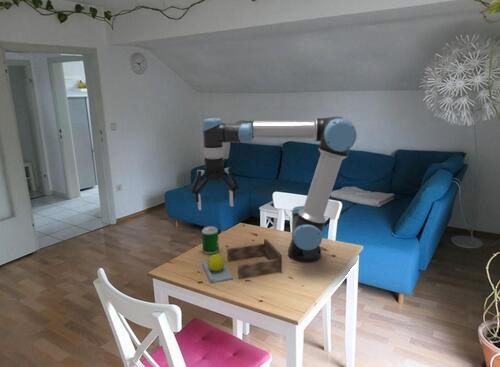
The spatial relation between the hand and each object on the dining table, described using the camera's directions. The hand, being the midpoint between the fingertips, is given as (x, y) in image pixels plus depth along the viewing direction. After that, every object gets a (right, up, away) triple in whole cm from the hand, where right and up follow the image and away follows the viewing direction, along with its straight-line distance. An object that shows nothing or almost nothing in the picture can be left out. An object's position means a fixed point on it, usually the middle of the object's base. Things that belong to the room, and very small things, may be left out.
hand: (215, 207), depth 154 cm
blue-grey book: (+5, -25, +1) cm, 26 cm away
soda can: (-4, -23, +20) cm, 31 cm away
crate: (+16, -26, +5) cm, 31 cm away
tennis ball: (0, -26, 0) cm, 26 cm away
